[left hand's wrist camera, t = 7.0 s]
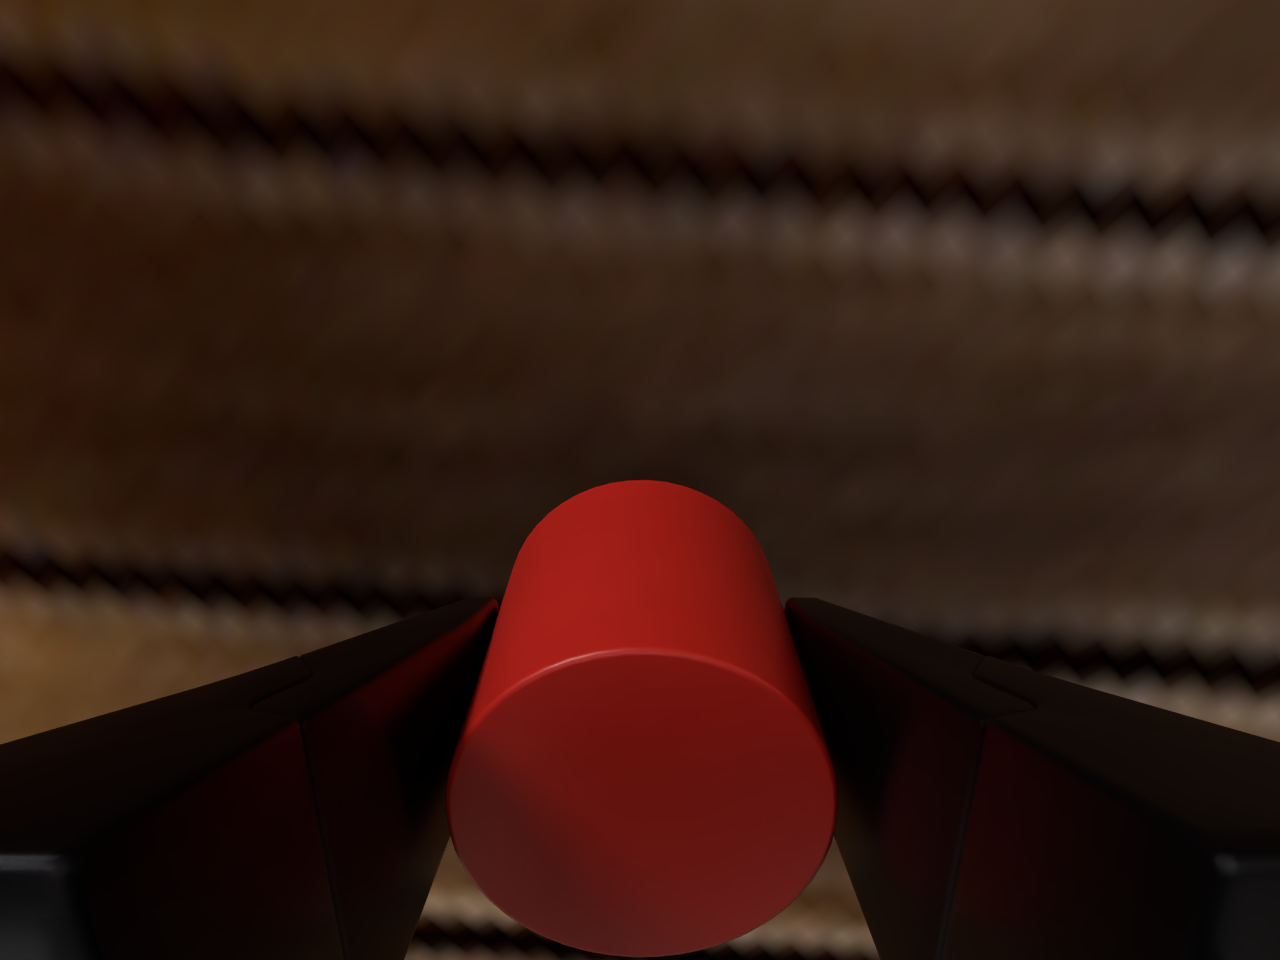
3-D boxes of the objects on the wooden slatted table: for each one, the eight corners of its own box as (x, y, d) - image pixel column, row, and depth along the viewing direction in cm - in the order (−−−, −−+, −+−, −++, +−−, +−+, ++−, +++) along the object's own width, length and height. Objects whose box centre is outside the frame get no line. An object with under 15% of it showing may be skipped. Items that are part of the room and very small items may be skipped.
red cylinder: (611, 748, 13) (598, 1009, 9) (456, 571, 12) (360, 779, 8) (821, 628, 12) (911, 856, 8) (676, 426, 11) (698, 572, 7)
